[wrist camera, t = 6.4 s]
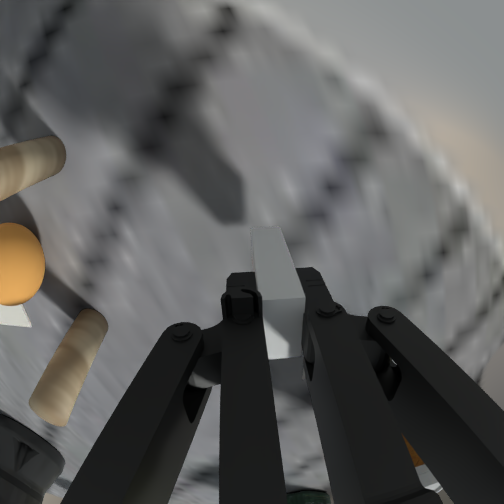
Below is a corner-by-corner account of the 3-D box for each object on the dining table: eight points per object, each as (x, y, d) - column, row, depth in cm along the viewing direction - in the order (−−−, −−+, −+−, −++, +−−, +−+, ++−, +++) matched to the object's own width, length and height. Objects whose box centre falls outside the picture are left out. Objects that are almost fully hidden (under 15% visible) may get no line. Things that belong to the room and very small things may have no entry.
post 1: (38, 178, 16) (-58, 230, 8) (33, 140, 15) (-70, 173, 7) (68, 172, 16) (-30, 223, 8) (63, 131, 15) (-43, 159, 7)
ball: (40, 274, 20) (-14, 303, 16) (22, 208, 18) (-38, 234, 13) (66, 295, 17) (0, 333, 13) (43, 215, 15) (-34, 249, 11)
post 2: (84, 334, 21) (41, 421, 13) (74, 308, 20) (21, 395, 12) (112, 336, 21) (73, 429, 13) (102, 308, 20) (53, 402, 12)
